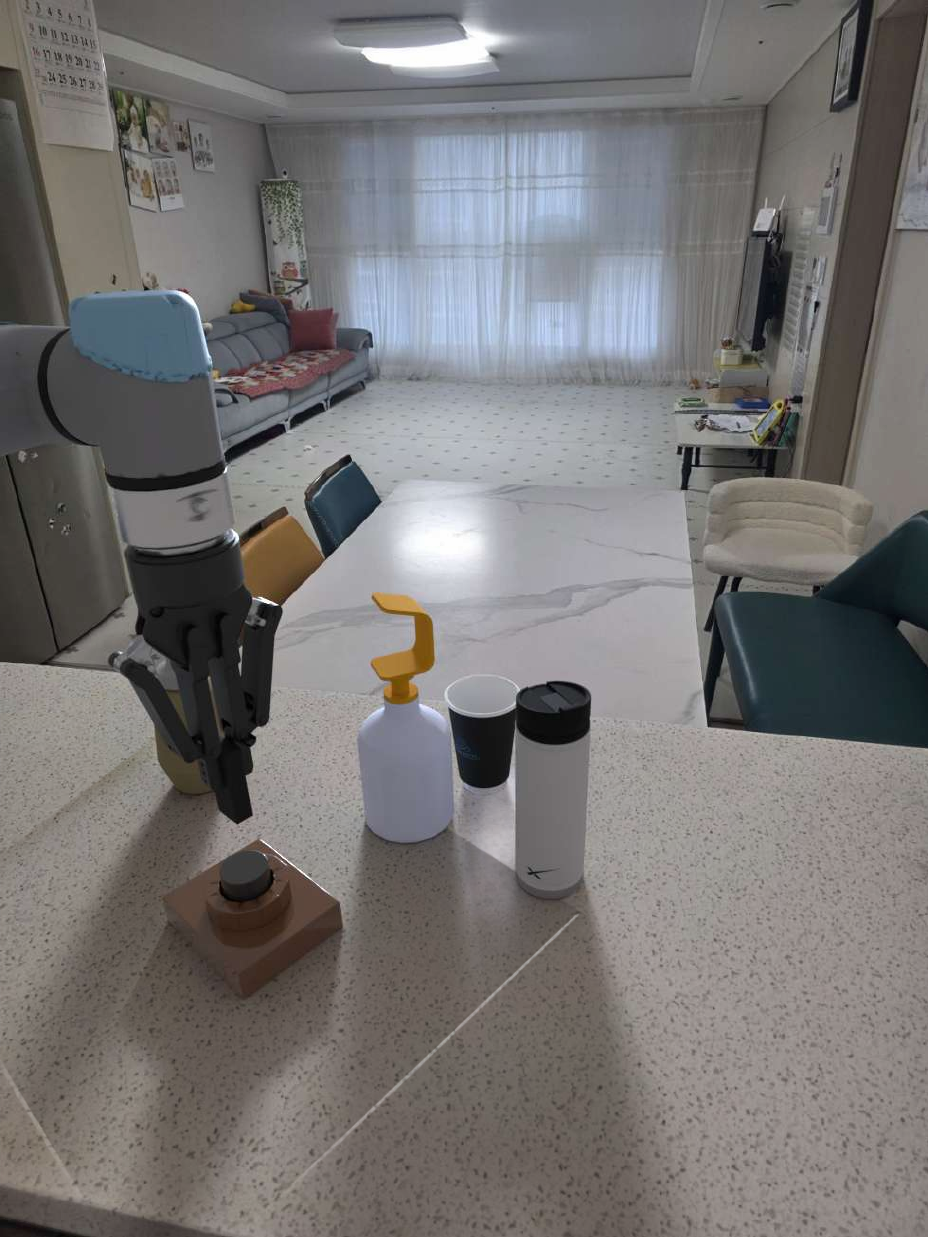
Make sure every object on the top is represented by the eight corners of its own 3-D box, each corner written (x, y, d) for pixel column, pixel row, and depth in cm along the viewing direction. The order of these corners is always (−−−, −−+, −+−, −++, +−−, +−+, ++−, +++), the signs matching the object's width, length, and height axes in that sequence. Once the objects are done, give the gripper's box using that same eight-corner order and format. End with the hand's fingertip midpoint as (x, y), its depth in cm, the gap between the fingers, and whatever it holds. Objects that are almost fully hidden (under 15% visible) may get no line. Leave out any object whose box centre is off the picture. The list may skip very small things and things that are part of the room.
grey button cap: (213, 886, 70) (209, 868, 69) (254, 861, 72) (250, 843, 71) (240, 910, 67) (236, 891, 66) (280, 883, 70) (277, 865, 69)
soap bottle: (354, 801, 86) (330, 588, 75) (435, 778, 89) (423, 570, 79) (380, 856, 79) (359, 627, 68) (468, 829, 82) (460, 606, 71)
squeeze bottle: (183, 813, 85) (149, 661, 77) (152, 778, 91) (117, 633, 83) (253, 779, 90) (228, 634, 82) (219, 748, 96) (193, 609, 88)
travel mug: (537, 912, 72) (539, 720, 63) (503, 864, 77) (502, 680, 69) (598, 890, 74) (609, 700, 65) (561, 844, 80) (567, 664, 71)
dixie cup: (525, 762, 92) (526, 677, 87) (516, 808, 85) (516, 717, 80) (455, 756, 93) (452, 671, 88) (440, 800, 86) (436, 711, 81)
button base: (167, 922, 72) (156, 879, 70) (263, 862, 79) (256, 820, 76) (244, 1001, 65) (234, 955, 62) (343, 927, 71) (338, 883, 69)
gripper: (113, 580, 49) (186, 879, 60) (292, 522, 58) (329, 793, 68) (61, 551, 54) (137, 833, 64) (233, 501, 62) (276, 758, 73)
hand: (235, 812), depth 66 cm, fingers closed
